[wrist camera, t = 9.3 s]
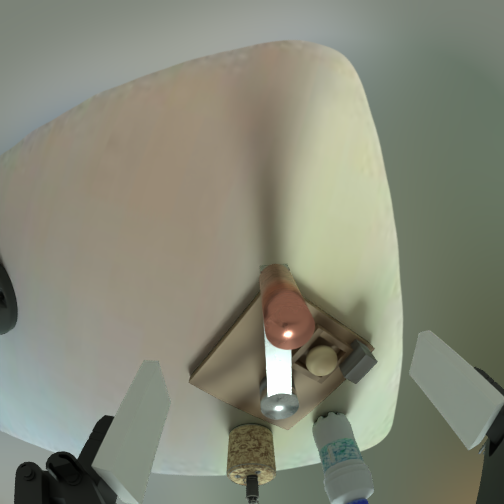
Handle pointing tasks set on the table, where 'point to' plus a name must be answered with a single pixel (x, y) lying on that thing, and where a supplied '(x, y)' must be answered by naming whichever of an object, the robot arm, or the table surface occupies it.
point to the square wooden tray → (304, 382)
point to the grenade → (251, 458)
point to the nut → (321, 360)
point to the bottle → (342, 461)
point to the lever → (282, 337)
